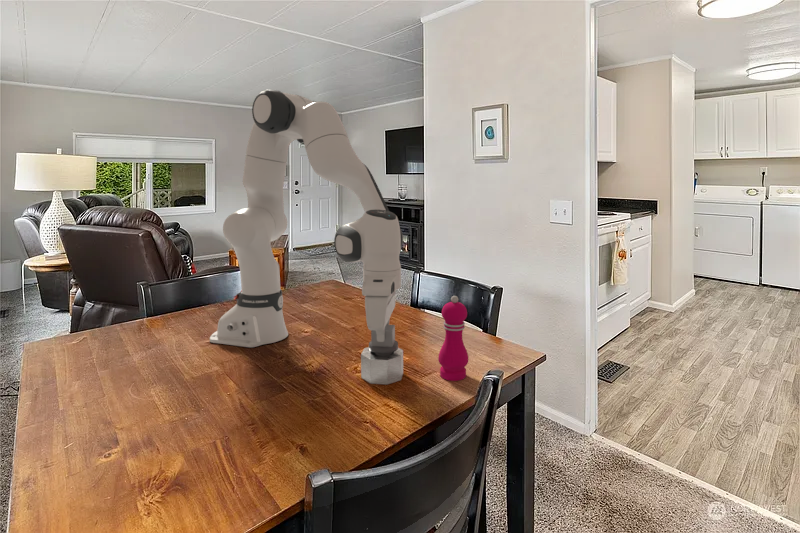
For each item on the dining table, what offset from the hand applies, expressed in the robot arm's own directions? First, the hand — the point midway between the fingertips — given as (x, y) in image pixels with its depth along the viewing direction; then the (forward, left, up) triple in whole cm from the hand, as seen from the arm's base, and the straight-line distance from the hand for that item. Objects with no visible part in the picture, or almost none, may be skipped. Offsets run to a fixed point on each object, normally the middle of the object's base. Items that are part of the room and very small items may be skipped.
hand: (383, 336), depth 111 cm
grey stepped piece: (0, 0, -6) cm, 6 cm away
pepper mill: (+17, +2, -10) cm, 20 cm away
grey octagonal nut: (0, 0, -10) cm, 10 cm away
